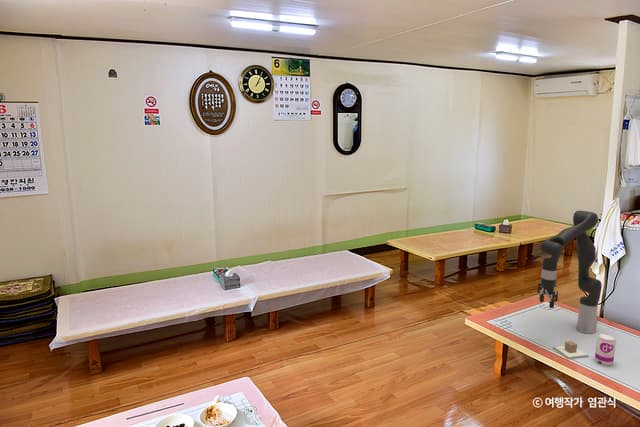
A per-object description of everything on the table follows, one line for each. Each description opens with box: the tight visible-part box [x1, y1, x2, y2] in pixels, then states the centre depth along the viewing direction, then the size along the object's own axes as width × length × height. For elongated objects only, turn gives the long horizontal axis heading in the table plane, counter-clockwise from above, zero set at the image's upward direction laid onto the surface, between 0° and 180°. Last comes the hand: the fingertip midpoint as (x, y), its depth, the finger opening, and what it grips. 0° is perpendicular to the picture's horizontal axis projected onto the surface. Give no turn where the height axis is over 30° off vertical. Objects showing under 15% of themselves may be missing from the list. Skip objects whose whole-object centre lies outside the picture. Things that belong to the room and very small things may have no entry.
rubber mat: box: [551, 346, 590, 360], centre depth 242 cm, size 13×13×1 cm
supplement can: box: [594, 333, 617, 367], centre depth 231 cm, size 8×8×15 cm
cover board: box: [553, 340, 588, 359], centre depth 242 cm, size 11×11×5 cm
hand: (546, 304), depth 248 cm, fingers open, 8 cm apart
